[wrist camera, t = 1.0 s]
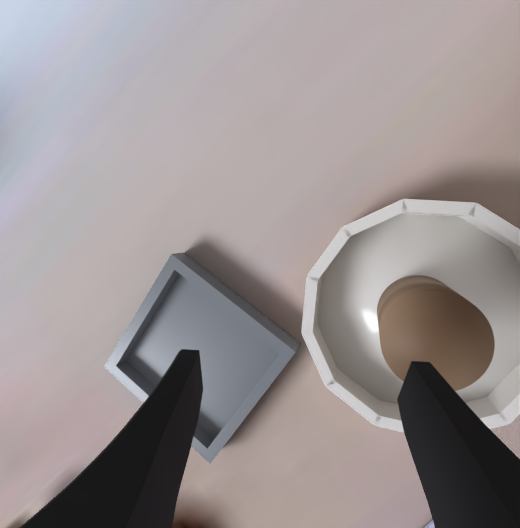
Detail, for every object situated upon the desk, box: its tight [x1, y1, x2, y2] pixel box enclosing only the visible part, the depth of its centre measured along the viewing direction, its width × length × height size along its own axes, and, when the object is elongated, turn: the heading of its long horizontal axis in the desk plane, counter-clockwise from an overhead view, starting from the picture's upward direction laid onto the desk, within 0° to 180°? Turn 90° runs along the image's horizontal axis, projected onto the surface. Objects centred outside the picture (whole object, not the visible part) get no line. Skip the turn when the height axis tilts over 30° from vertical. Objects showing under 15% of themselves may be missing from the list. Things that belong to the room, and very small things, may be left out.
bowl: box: [301, 199, 520, 432], centre depth 21 cm, size 14×14×2 cm
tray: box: [105, 253, 300, 463], centre depth 26 cm, size 11×11×2 cm
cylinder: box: [377, 275, 495, 391], centre depth 19 cm, size 5×5×6 cm
